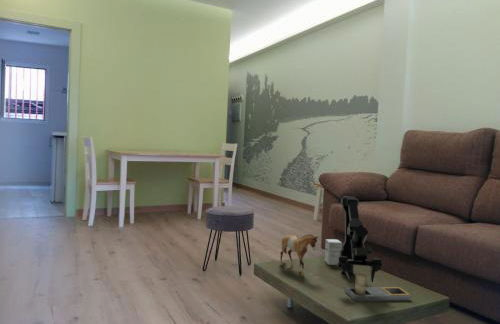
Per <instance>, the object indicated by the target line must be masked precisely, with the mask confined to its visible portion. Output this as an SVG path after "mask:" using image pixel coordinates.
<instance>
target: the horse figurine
mask: <svg viewBox="0 0 500 324" xmlns="http://www.w3.org/2000/svg"><path fill="white" fill-rule="evenodd" d="M318 238H319V236H314V235H313V234H306V235H305V234H304V235H303V236H301V237H299V238H297V235H294V234H287V235H285V236H283V238H282V240H281V251H280V259H279V261H280V262H279V264H280V266H283V265H284V262H283V255H284V254H287V255H288V256H289V260H290V266H291V267H294V260H293V258H292V254H291V253H292V252H294V253H296V255H297V257H298V259H299V265H298V268H299V272H300V273H301V276H302V277H305V268H304V267H305V265H304V264H305V263H304V262H303V258H304V257H305V255H306V253H307V252H308V245H310V246H311V248H312V250H313V251H317V249H318V248H317V242H318V240H317V239H318ZM287 248H288V249H289V250H287Z"/></svg>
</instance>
